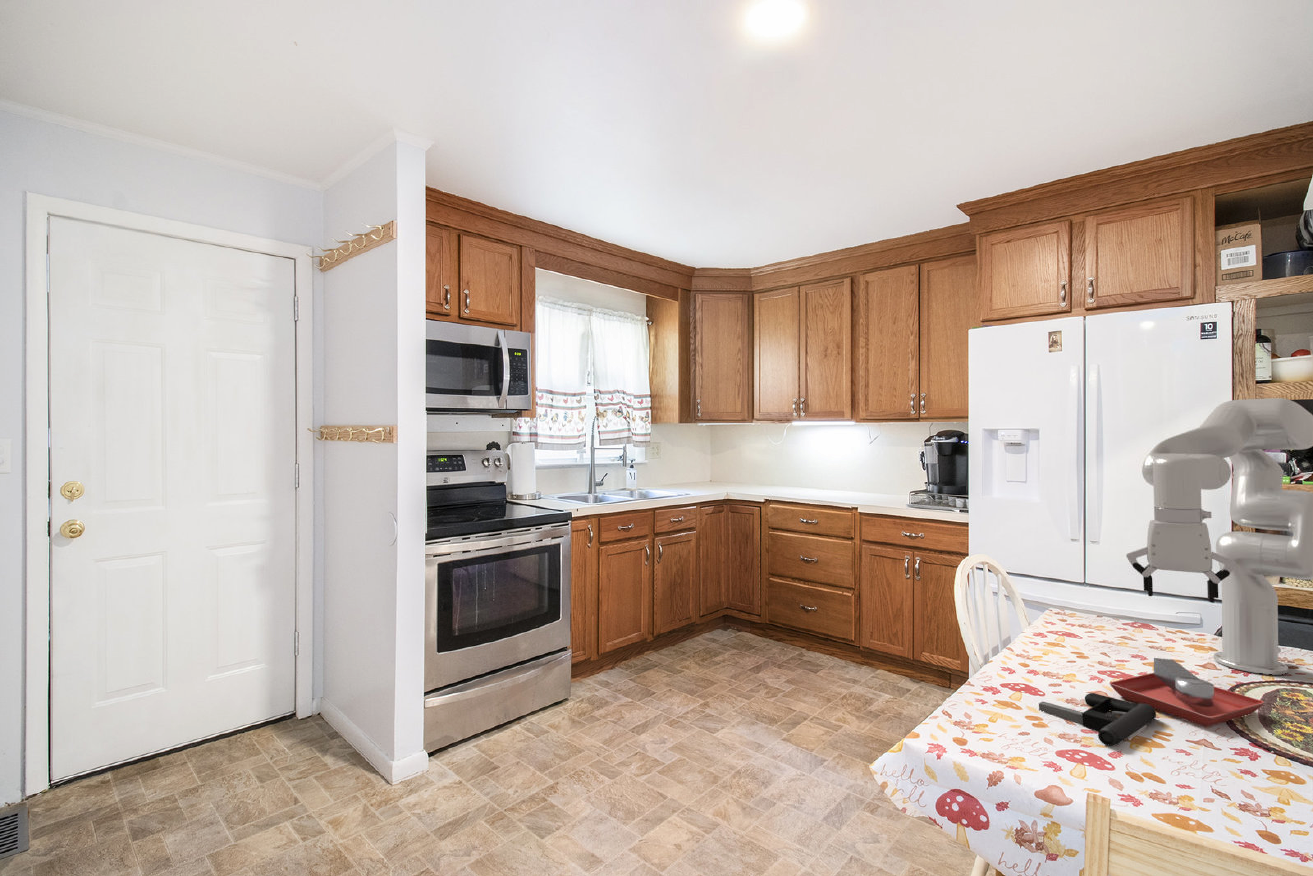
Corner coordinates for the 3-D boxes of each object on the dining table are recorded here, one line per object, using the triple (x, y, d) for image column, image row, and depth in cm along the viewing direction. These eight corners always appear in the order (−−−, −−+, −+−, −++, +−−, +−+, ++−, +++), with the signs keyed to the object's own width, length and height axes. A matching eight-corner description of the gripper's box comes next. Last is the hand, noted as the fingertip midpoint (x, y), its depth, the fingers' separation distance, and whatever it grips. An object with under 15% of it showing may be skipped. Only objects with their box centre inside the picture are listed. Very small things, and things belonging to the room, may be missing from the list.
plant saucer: (1107, 697, 128) (1106, 681, 128) (1161, 684, 134) (1161, 669, 134) (1211, 735, 111) (1211, 717, 111) (1267, 719, 117) (1267, 702, 117)
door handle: (1024, 706, 117) (1123, 734, 104) (1070, 683, 128) (1165, 706, 115) (1025, 724, 117) (1124, 754, 104) (1071, 699, 128) (1166, 724, 115)
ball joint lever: (1147, 673, 132) (1147, 657, 132) (1179, 677, 130) (1179, 660, 130) (1183, 704, 116) (1183, 685, 116) (1220, 708, 114) (1220, 689, 114)
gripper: (1231, 515, 124) (1233, 599, 124) (1124, 511, 134) (1127, 588, 134) (1237, 521, 118) (1240, 608, 118) (1125, 516, 128) (1127, 596, 128)
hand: (1180, 597), depth 126 cm, fingers open, 9 cm apart
